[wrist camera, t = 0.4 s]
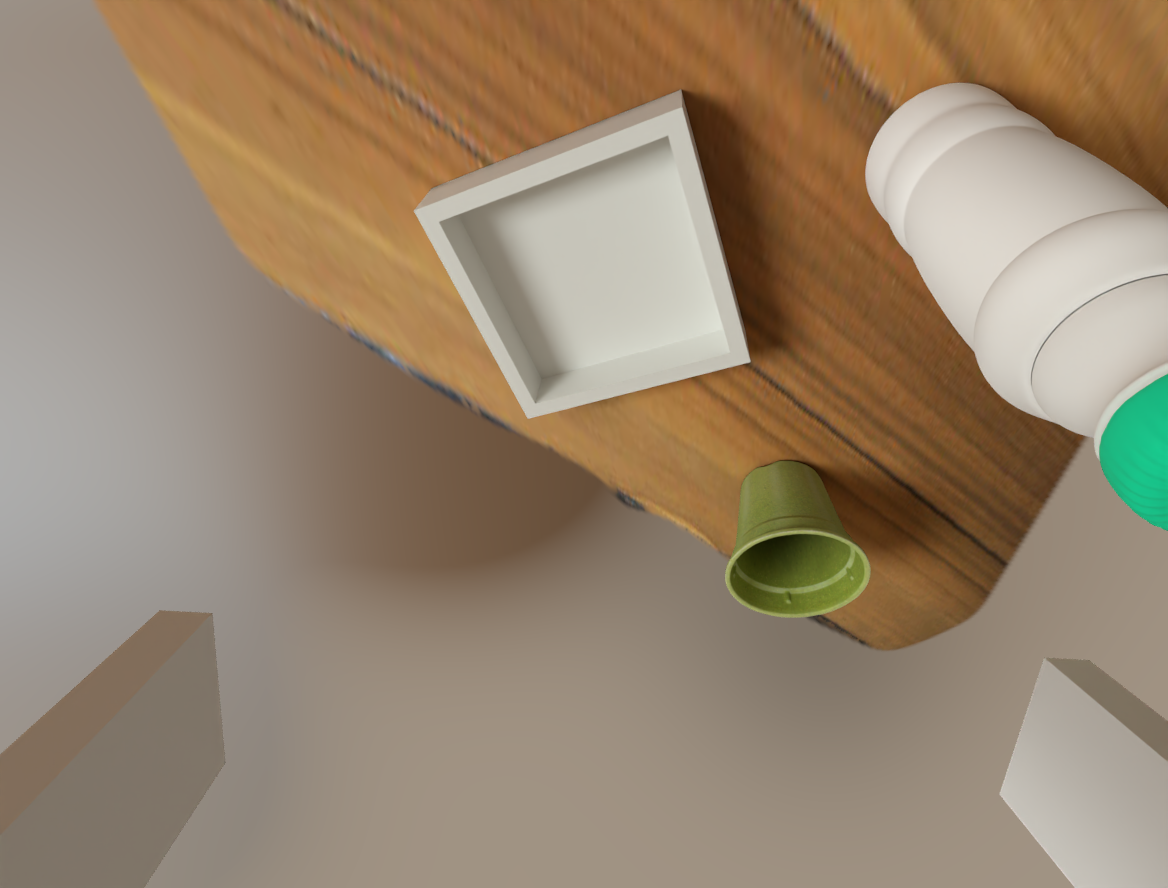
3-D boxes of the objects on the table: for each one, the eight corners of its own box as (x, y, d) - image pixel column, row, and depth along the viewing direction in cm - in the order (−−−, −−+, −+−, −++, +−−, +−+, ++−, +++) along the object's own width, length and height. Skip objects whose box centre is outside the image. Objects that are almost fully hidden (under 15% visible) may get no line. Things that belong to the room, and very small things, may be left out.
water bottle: (1031, 160, 34) (1485, 503, 15) (900, 245, 38) (1134, 609, 19) (973, 44, 31) (1446, 290, 12) (837, 148, 35) (1038, 464, 16)
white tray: (431, 188, 38) (413, 210, 35) (681, 89, 33) (682, 106, 31) (535, 388, 47) (527, 418, 44) (745, 332, 42) (750, 361, 39)
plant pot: (812, 539, 54) (832, 629, 47) (702, 515, 53) (707, 603, 47) (866, 458, 48) (898, 549, 41) (743, 430, 47) (755, 517, 41)
